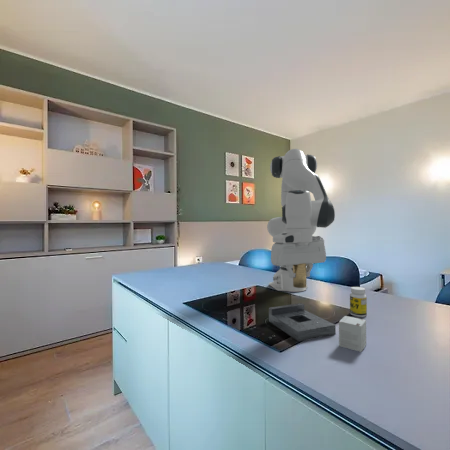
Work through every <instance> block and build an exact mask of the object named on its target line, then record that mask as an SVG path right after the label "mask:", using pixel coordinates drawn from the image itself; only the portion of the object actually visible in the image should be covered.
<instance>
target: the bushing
mask: <svg viewBox="0 0 450 450" xmlns="http://www.w3.org/2000/svg"><path fill="white" fill-rule="evenodd" d="M306 267H307V266H306V263H305V264H298V265H293V272H294V273H296V275H295V276H296V278H293V287H296V288H305V287H307V286H308V285H307V277H306ZM306 285H307V286H306ZM307 288H308V287H307Z"/></svg>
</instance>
